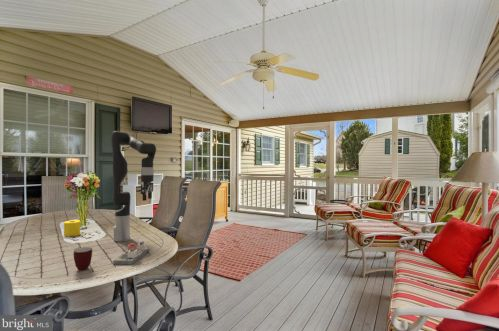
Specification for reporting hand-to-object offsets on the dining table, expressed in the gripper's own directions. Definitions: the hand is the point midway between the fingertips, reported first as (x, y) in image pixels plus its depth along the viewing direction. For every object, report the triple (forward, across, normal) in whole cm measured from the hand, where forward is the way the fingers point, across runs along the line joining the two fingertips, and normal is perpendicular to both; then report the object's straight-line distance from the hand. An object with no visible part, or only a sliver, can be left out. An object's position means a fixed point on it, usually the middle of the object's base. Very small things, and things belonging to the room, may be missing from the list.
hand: (147, 199), depth 177 cm
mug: (+30, -38, +18) cm, 52 cm away
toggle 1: (+28, -26, -3) cm, 38 cm away
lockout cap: (+28, -20, 0) cm, 35 cm away
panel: (+30, -20, 0) cm, 36 cm away
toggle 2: (+28, -14, -3) cm, 31 cm away
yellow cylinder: (+30, +23, +65) cm, 75 cm away
